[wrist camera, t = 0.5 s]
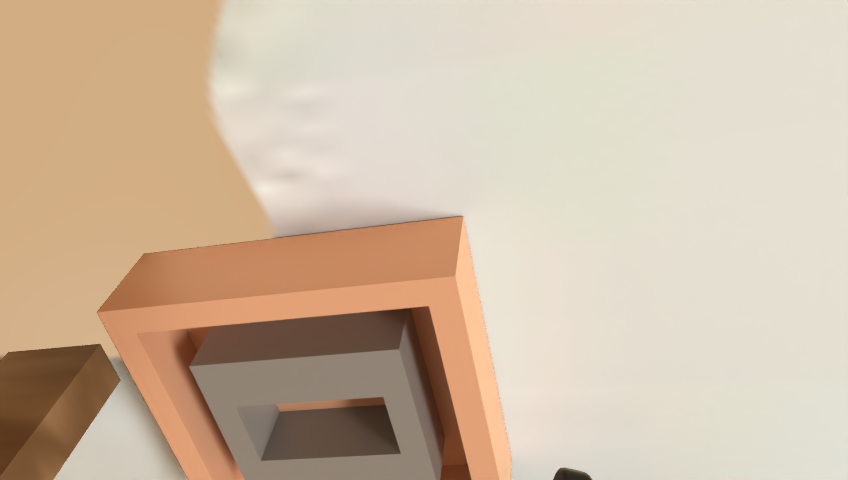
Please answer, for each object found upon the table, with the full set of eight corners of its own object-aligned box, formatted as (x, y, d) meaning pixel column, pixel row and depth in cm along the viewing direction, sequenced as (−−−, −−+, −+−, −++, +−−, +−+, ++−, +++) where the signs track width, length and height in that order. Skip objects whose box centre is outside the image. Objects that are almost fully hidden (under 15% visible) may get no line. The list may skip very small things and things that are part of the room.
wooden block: (120, 380, 30) (5, 550, 23) (30, 387, 31) (-105, 552, 24) (100, 343, 29) (-26, 510, 22) (8, 352, 30) (-140, 514, 23)
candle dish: (511, 459, 30) (510, 532, 27) (248, 472, 32) (221, 540, 29) (463, 216, 24) (455, 275, 21) (144, 253, 26) (96, 312, 23)
